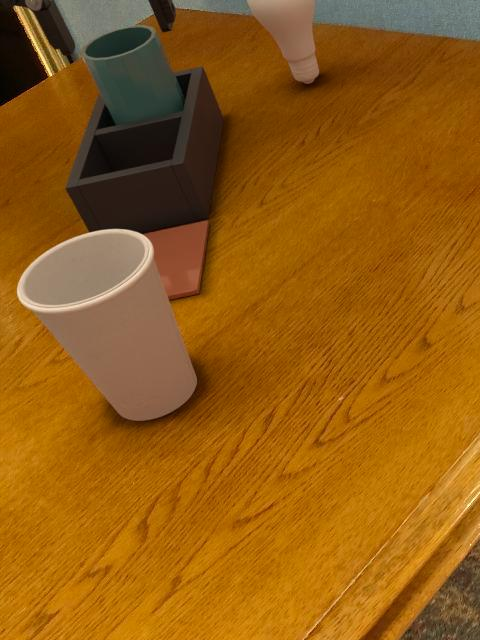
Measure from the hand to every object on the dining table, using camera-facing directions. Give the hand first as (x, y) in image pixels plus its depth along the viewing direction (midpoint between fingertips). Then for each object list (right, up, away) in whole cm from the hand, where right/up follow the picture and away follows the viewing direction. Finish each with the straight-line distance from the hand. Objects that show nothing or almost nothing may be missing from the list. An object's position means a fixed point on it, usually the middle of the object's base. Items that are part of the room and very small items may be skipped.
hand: (118, 40), depth 84 cm
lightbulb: (+13, +2, +13) cm, 19 cm away
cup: (+2, -7, +7) cm, 10 cm away
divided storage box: (+2, -10, +5) cm, 11 cm away
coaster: (+4, -21, -5) cm, 22 cm away
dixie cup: (+9, -32, -16) cm, 37 cm away
